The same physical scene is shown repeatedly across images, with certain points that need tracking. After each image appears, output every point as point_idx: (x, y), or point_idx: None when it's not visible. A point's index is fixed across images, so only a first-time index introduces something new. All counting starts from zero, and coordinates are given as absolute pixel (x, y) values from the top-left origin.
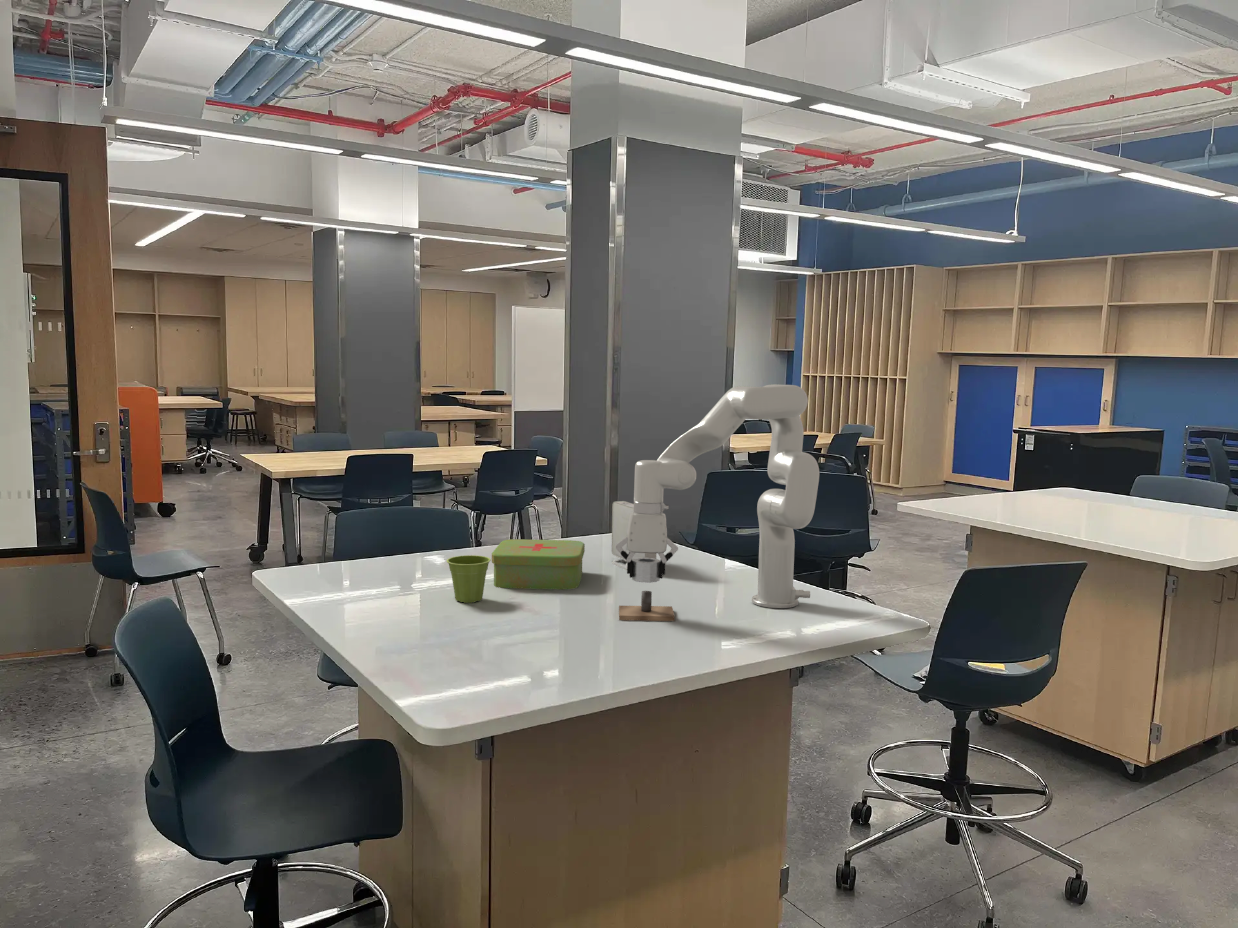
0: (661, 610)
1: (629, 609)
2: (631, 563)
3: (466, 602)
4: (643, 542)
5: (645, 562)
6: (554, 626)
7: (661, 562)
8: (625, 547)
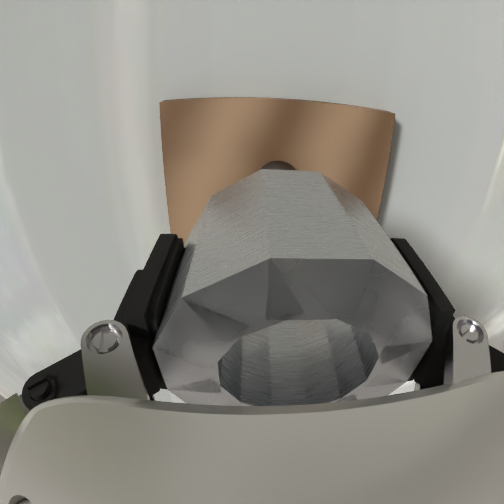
0: (342, 174)
1: (206, 162)
2: (163, 381)
3: None
4: None
5: None
6: (43, 293)
7: (415, 368)
8: None
